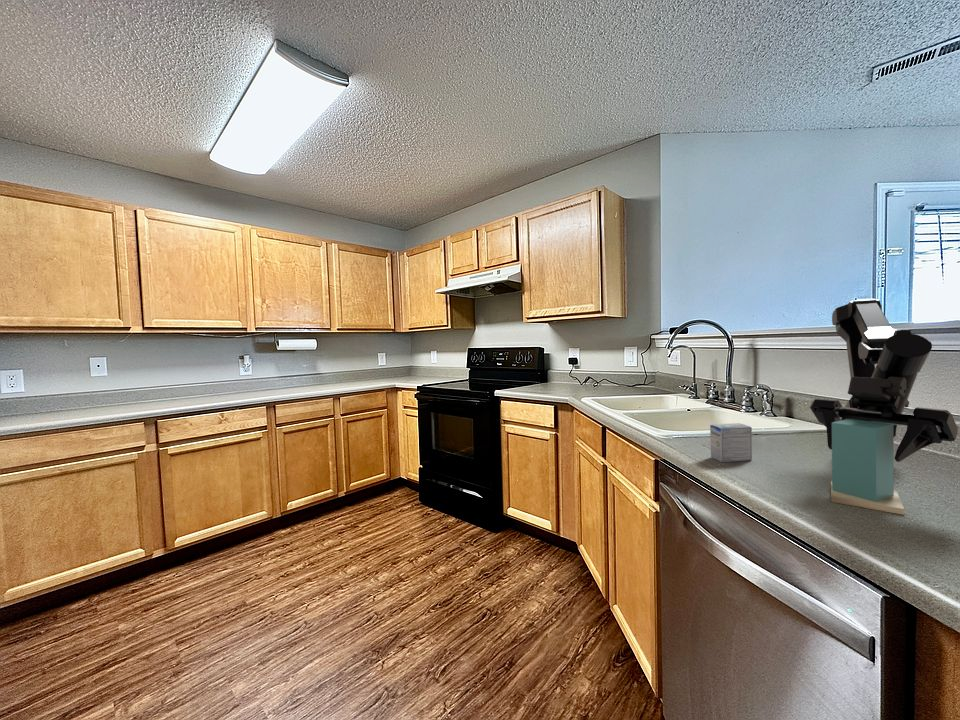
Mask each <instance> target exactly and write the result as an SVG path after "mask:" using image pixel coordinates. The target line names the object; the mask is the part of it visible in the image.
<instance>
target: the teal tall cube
mask: <svg viewBox="0 0 960 720" xmlns="http://www.w3.org/2000/svg"><path fill="white" fill-rule="evenodd" d="M894 444H895V443H894V437H893V424H888V423H880V422H872V421H864V420H855V419H846V420H841V421H837V422H832V450H831V468H832V469H831V473H832V475H831V478H832V479H831V481H832V490H833V491H837V492H841V493H844V494H848V495H852V496H856V497H859V498H863V499H867V500H871V501H874V502H878V501H880V500H883V499H885V498H888V497H890V496H893V495H894V490H895V489H894V488H895V483H894V482H895V481H894V480H895V479H894V478H895V476H894V475H895V471H894V470H895V468H894V467H895V465H894V461H895V455H894V454H895V452H894V446H895V445H894Z"/></svg>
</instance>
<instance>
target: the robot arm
mask: <svg viewBox="0 0 960 720" xmlns="http://www.w3.org/2000/svg"><path fill="white" fill-rule="evenodd" d="M831 315H832V316H831V322H832V326H835V331H836V334H837V335H838V336H839V337H840V338H841V339H842V340H843V341H845V343H846V351H847V359H848V365H849V366H848V368H849V374H850V380H849V385H848V390H847V395H851V397H850V398H849V400H848V401H847V403H846V404H845V407H844V406H843V405H842V403H841V401H839V399H825V398H815V399H813V400H812V402H811V404H810V406H809V409H810V410H811V412H812V414H813V415H814V417H815V418H816V420H817V421H818V423H820V424H822V425H823V426H825V428H826V439H827V441H826V442H827V448H829V450H831V451H832V422H837V421H841V420H846V419H855V420H864V421H872V422H880V423H888V424H893V438H895V437H896V436H897V427H898V426H903V427H906V430H905V433H904V435H903V437H902V439H901V441H900V443H899V445H898V447H897V449H896V452H895V455H894V461H896V462H899V463H900V462H901V461H903V460H906V459H907V458H908V457H910V456H911V455H913V454H915V453H916V452H918V451H920V450H921V449H924V448H926V447H928V446H930V445H932V444H942V443H943V441H944V442H950V443H951V442H954V441H956V439H957V436H958V433H959V432H958V425H957V423H956V421H955V419H954V417H953V414H952V413H951V412H950V411H949V410H948V409H943V408H941V409H939V408H931V407H930V408H928V407H915V408H914V409H913V411H912V413H913V414H907V413H906V414H904V412H903V411H904V409H905V408H908V407H909V405H910V402H909V397H910V393H911V391H912V390H913V386H914V384H915V381H916V379H917V376H918V374H919V373H920V372H921V370H922V368H923V366H924V364H925V362H926V360H927V358H928V357H929V354H931V351H932V348H933V344H932V342H931V341H930V340H928V339H927V338H925V337H924V336H921V335H919V334H915V333H912V331H911V329H908V328H907V329H896V328H893V327H892V326H891V324H890V323H889V320H888V319H887V317H886V315H885V314H884V312H883V307H882V304H881V300H880V299H877V298H865V299H856V300H855V299H854V300H851V301H849V302H848V303H847V304H846V303H845V304H844V305H841V306H838V307H836V308H835V309H834V311H832V314H831ZM875 365H876V366H875Z"/></svg>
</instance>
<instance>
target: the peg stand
mask: <svg viewBox="0 0 960 720" xmlns="http://www.w3.org/2000/svg"><path fill="white" fill-rule="evenodd" d="M830 498H831V499H830V501H831V502H832V503H836V504H842V505H847V506H851V507H852V506H853V507H858V508H864V509H870V510H875V511H880V512H885V513H886V512H887V513H893V514H897V515H902V516H903V515H905V507H904V504H903V502H902V500H901V498H900V496H899V494H898V491H897V490H896V489H894V495H893V496H890V497H888V498H885V499H883V500H880V501H878V502H874V501H871V500H867V499H863V498H859V497H856V496H852V495H848V494H844V493H841V492H837V491H833V490H832V480H830Z"/></svg>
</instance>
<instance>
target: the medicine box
mask: <svg viewBox="0 0 960 720" xmlns="http://www.w3.org/2000/svg"><path fill="white" fill-rule="evenodd" d="M752 429H753V428H752V426H751V425H746V424H744V423H740V422H739V423H738V422H736V423H734V422H733V423H718V424H711V425H709V431H710V432H709V435H710V436H709V437H710V438H709V439H710V457H711V458H712V459H714V460H715V459H716V461H718V462H721V463H729V462H730V463H732V462H746V461H752V460H753V443H752V442H753V439H752V437H753V434H752V433H753V432H752V431H753V430H752Z"/></svg>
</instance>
